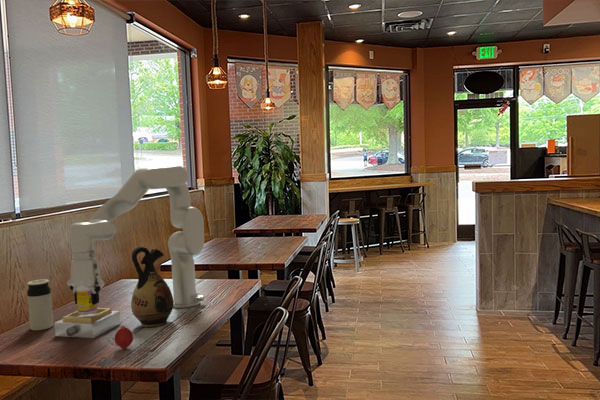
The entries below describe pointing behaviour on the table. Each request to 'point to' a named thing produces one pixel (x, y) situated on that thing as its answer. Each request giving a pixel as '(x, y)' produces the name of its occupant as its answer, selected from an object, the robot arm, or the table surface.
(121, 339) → the onion
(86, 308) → the supplement bottle
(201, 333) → the table surface
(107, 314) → the white gold-rimmed box
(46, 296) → the travel mug
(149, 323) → the ceramic jug
